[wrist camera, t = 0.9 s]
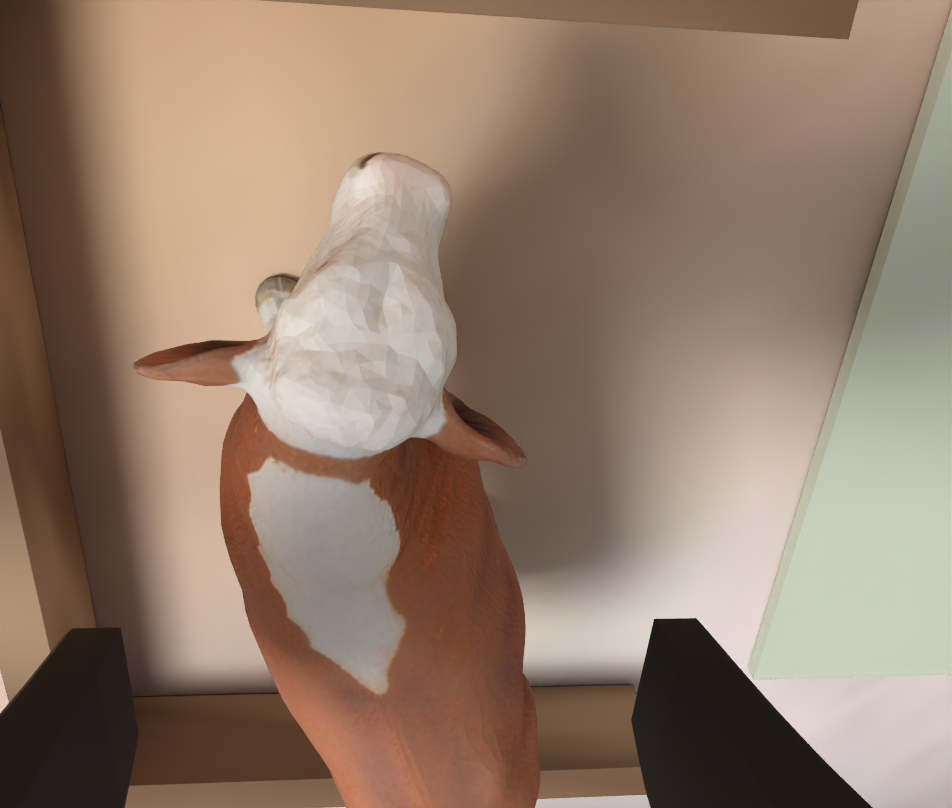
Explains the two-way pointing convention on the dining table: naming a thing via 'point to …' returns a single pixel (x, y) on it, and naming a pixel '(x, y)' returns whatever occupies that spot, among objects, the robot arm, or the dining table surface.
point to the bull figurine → (374, 511)
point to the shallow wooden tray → (266, 715)
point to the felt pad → (882, 453)
